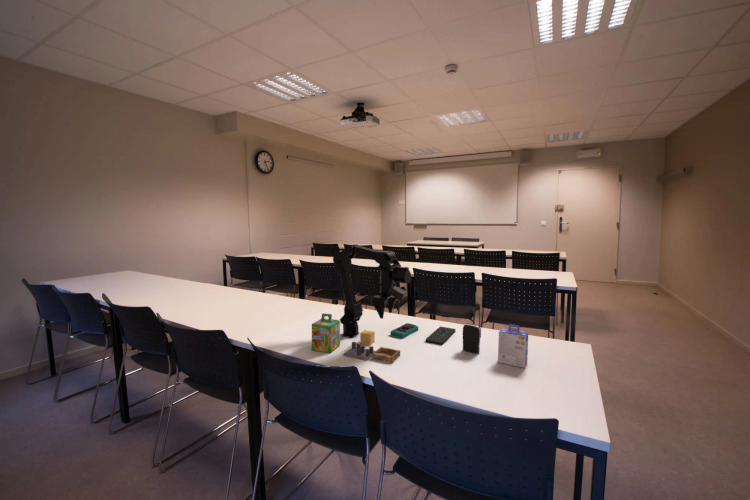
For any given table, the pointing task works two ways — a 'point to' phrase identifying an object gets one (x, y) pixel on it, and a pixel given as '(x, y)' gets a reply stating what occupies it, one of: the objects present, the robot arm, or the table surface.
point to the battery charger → (471, 338)
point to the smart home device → (440, 335)
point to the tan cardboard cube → (367, 337)
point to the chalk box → (326, 334)
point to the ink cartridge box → (513, 346)
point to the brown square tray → (386, 354)
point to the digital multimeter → (404, 330)
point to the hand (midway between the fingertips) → (386, 315)
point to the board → (359, 352)
